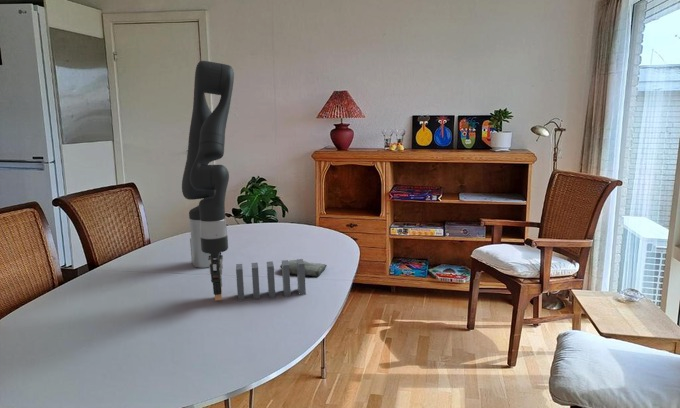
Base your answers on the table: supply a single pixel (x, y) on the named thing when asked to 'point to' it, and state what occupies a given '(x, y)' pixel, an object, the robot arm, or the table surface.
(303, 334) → the table surface
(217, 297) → the domino
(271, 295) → the domino
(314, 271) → the stone
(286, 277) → the domino
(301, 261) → the domino
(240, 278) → the domino
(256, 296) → the domino
